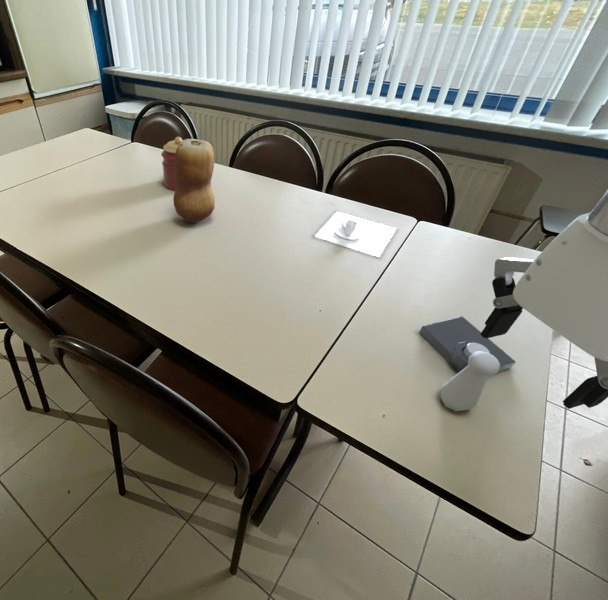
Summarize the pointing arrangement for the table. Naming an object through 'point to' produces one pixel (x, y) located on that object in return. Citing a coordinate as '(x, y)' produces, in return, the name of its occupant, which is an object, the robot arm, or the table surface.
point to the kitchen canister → (170, 162)
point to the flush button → (474, 349)
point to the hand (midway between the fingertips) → (530, 365)
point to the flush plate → (461, 342)
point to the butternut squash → (194, 180)
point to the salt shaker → (469, 382)
